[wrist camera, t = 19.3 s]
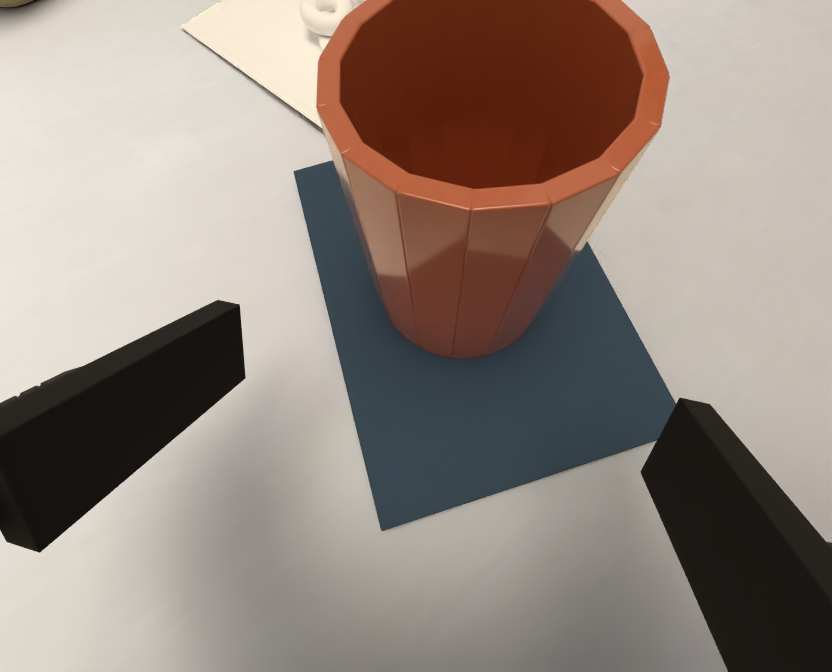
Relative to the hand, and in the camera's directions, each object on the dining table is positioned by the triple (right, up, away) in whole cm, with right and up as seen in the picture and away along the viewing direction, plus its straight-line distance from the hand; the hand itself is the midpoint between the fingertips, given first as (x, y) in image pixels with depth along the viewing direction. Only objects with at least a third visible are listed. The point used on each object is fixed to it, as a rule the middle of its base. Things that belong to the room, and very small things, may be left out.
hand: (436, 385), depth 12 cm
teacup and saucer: (-4, +25, +16) cm, 30 cm away
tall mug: (+2, +6, +8) cm, 10 cm away
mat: (+2, +4, +9) cm, 10 cm away
